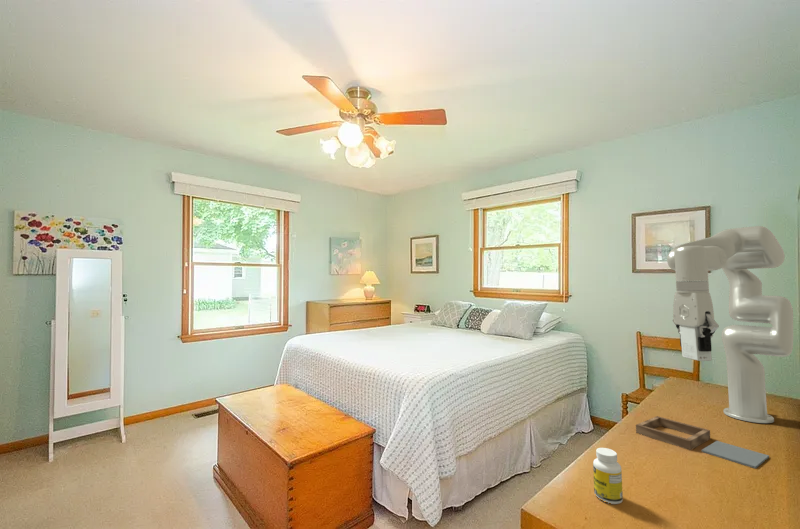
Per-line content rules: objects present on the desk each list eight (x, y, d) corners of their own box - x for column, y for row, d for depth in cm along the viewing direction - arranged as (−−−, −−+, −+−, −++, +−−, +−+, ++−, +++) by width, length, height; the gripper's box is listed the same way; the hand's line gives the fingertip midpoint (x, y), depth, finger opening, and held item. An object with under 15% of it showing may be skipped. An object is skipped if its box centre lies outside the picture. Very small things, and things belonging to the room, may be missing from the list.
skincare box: (712, 361, 103) (710, 318, 104) (697, 361, 103) (694, 318, 104) (695, 356, 109) (692, 316, 110) (680, 356, 109) (678, 316, 110)
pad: (716, 442, 106) (716, 440, 106) (769, 457, 97) (769, 455, 97) (701, 451, 100) (701, 449, 100) (755, 468, 91) (755, 466, 91)
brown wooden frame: (657, 423, 120) (657, 416, 120) (710, 438, 108) (709, 430, 109) (636, 433, 113) (635, 424, 113) (690, 450, 101) (690, 441, 101)
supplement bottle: (588, 491, 81) (587, 446, 82) (611, 490, 82) (610, 445, 82) (604, 506, 76) (602, 457, 77) (628, 504, 76) (626, 456, 77)
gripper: (659, 287, 116) (661, 344, 115) (703, 288, 99) (707, 355, 98) (682, 287, 116) (685, 344, 115) (731, 287, 99) (735, 354, 98)
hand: (695, 348), depth 106 cm, fingers closed on skincare box, 6 cm apart
